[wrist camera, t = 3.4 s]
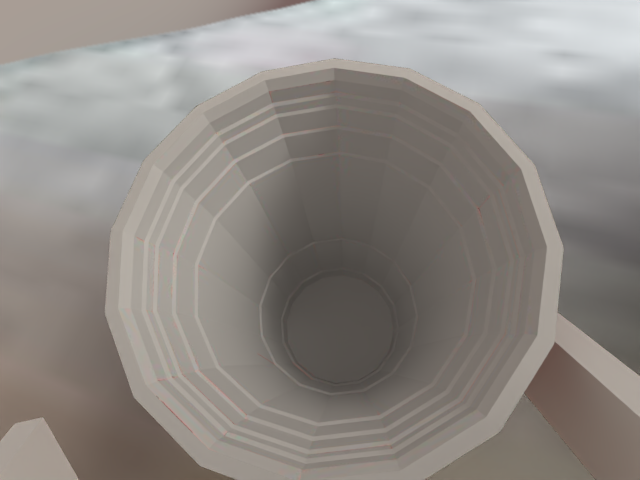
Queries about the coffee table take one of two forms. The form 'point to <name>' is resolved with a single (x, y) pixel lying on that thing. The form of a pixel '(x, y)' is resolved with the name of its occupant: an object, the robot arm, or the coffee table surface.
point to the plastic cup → (333, 276)
